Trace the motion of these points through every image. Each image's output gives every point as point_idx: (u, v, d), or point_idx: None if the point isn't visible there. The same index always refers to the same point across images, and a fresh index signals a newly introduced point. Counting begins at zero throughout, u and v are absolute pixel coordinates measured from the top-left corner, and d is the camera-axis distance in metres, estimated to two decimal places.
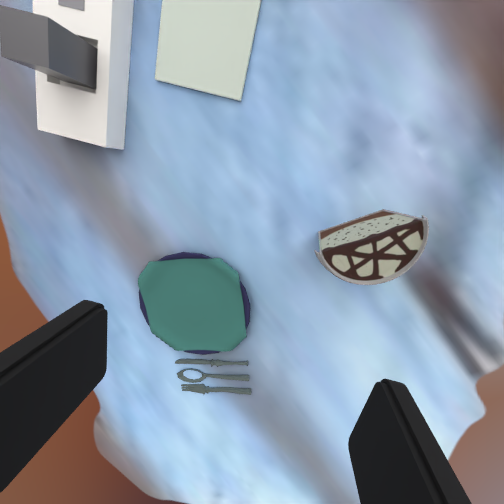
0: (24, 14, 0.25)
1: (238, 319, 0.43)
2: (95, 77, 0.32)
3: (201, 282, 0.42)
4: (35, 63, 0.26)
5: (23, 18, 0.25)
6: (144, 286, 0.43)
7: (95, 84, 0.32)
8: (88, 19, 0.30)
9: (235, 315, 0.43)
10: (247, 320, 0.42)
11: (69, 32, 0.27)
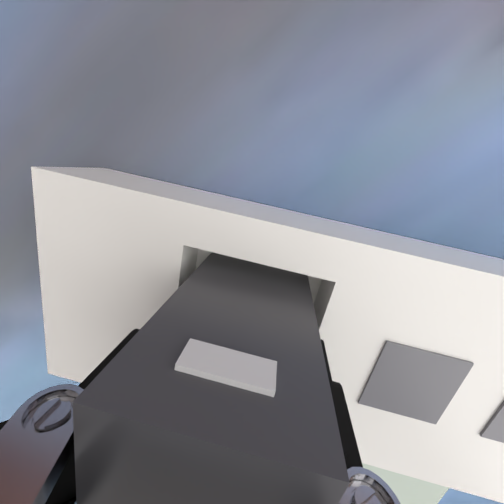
0: None
1: None
2: None
3: None
4: None
5: None
6: None
7: None
8: None
9: None
10: None
11: None
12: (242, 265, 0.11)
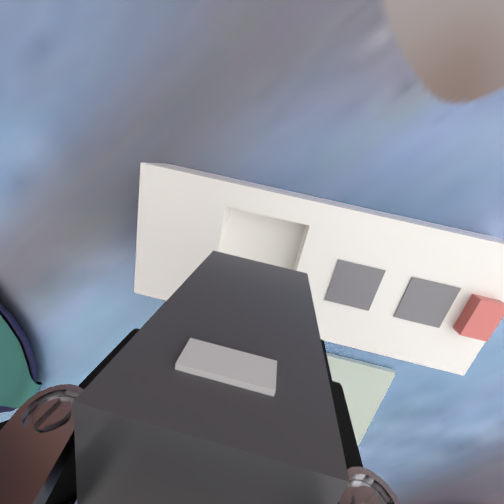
0: None
1: None
2: None
3: None
4: None
5: None
6: None
7: None
8: None
9: None
10: None
11: None
12: (242, 265, 0.11)
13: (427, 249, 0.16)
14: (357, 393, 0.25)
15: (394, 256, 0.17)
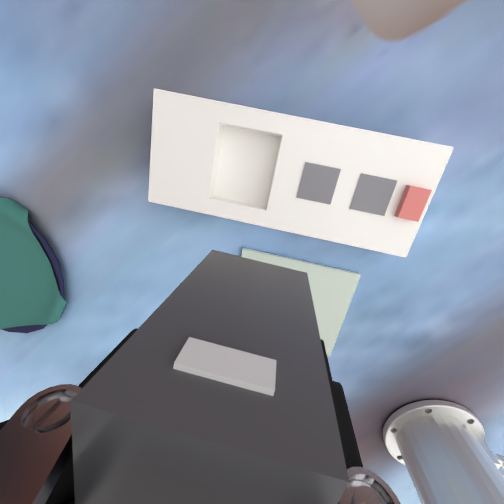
0: None
1: (7, 319, 0.37)
2: None
3: (31, 278, 0.34)
4: None
5: None
6: None
7: None
8: (287, 200, 0.24)
9: (10, 315, 0.37)
10: (9, 330, 0.37)
11: None
12: (242, 264, 0.11)
13: (370, 149, 0.21)
14: (331, 296, 0.30)
15: (346, 156, 0.22)
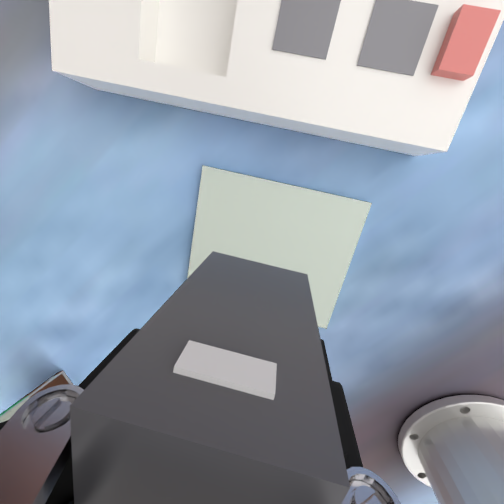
0: None
1: None
2: None
3: None
4: None
5: None
6: None
7: None
8: (258, 57, 0.15)
9: None
10: None
11: None
12: (242, 266, 0.11)
13: None
14: (328, 237, 0.21)
15: None
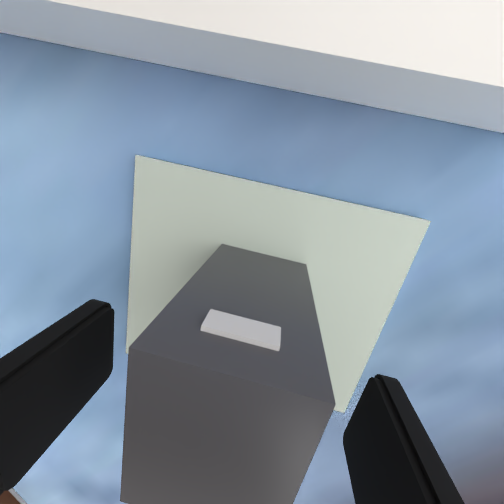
0: (286, 489, 0.06)
1: None
2: None
3: None
4: (126, 468, 0.07)
5: (272, 481, 0.06)
6: None
7: None
8: None
9: None
10: None
11: None
12: (248, 256, 0.12)
13: None
14: (351, 277, 0.12)
15: None
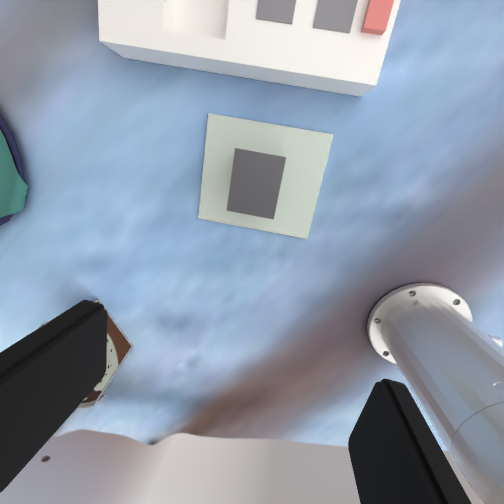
0: (276, 191, 0.22)
1: None
2: None
3: None
4: (230, 194, 0.22)
5: (272, 189, 0.22)
6: None
7: None
8: (246, 24, 0.22)
9: None
10: None
11: None
12: None
13: None
14: (304, 164, 0.28)
15: None
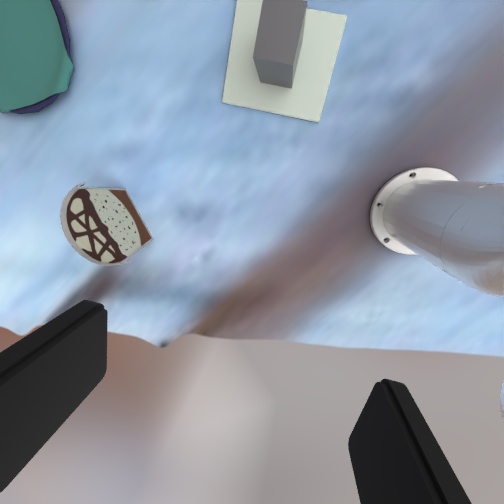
0: (296, 36, 0.26)
1: (17, 100, 0.39)
2: (268, 80, 0.33)
3: (39, 44, 0.36)
4: (256, 40, 0.26)
5: (293, 33, 0.26)
6: None
7: (262, 79, 0.33)
8: None
9: (20, 96, 0.39)
10: (20, 111, 0.39)
11: (291, 74, 0.29)
12: None
13: None
14: (319, 45, 0.32)
15: None
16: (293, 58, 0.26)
